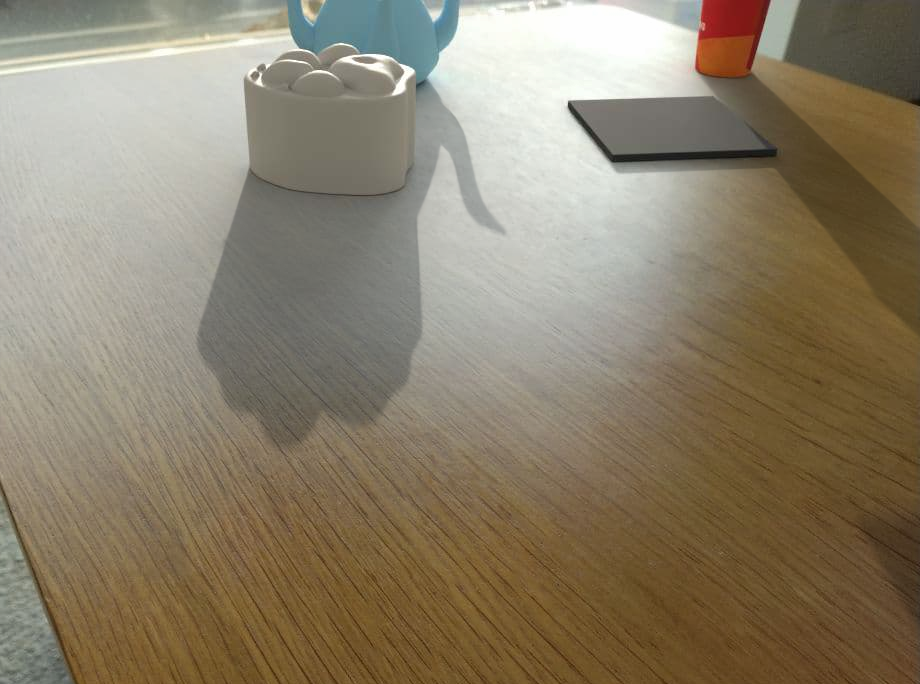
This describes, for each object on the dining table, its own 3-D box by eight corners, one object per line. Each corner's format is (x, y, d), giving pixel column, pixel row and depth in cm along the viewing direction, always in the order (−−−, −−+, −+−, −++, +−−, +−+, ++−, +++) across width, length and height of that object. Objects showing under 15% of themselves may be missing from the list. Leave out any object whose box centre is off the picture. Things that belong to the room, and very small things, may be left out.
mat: (712, 102, 93) (713, 95, 92) (776, 155, 81) (778, 148, 81) (567, 106, 91) (567, 100, 91) (611, 161, 80) (612, 154, 80)
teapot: (368, 48, 107) (367, -54, 101) (480, 74, 99) (486, -35, 93) (273, 79, 98) (266, -31, 92) (388, 110, 90) (388, -8, 84)
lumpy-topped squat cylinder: (398, 198, 74) (400, 82, 69) (232, 186, 75) (222, 72, 71) (419, 150, 82) (422, 43, 77) (269, 139, 84) (262, 34, 79)
